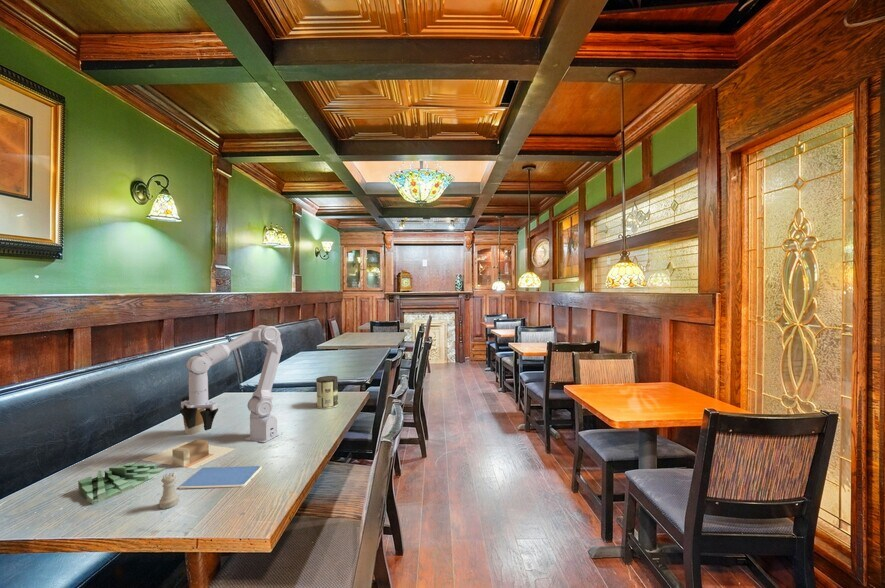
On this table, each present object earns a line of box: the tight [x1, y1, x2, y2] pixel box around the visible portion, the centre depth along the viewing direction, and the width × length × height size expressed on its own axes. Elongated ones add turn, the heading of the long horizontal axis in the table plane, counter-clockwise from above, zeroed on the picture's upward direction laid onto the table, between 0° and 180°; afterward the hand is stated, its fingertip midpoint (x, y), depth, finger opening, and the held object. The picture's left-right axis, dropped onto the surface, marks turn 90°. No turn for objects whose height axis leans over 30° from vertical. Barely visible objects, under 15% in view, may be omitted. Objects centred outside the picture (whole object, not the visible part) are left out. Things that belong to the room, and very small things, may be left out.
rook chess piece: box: [158, 472, 180, 510], centre depth 101 cm, size 4×4×8 cm
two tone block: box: [172, 438, 210, 468], centre depth 127 cm, size 9×5×5 cm, turn 162°
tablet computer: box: [177, 465, 263, 490], centre depth 116 cm, size 19×13×1 cm, turn 92°
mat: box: [141, 441, 235, 470], centre depth 132 cm, size 24×16×1 cm, turn 72°
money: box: [77, 462, 167, 506], centre depth 112 cm, size 20×16×5 cm
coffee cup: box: [181, 395, 205, 435], centre depth 154 cm, size 8×8×15 cm
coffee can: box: [315, 375, 339, 410], centre depth 188 cm, size 10×10×14 cm
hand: (199, 428), depth 133 cm, fingers open, 7 cm apart
